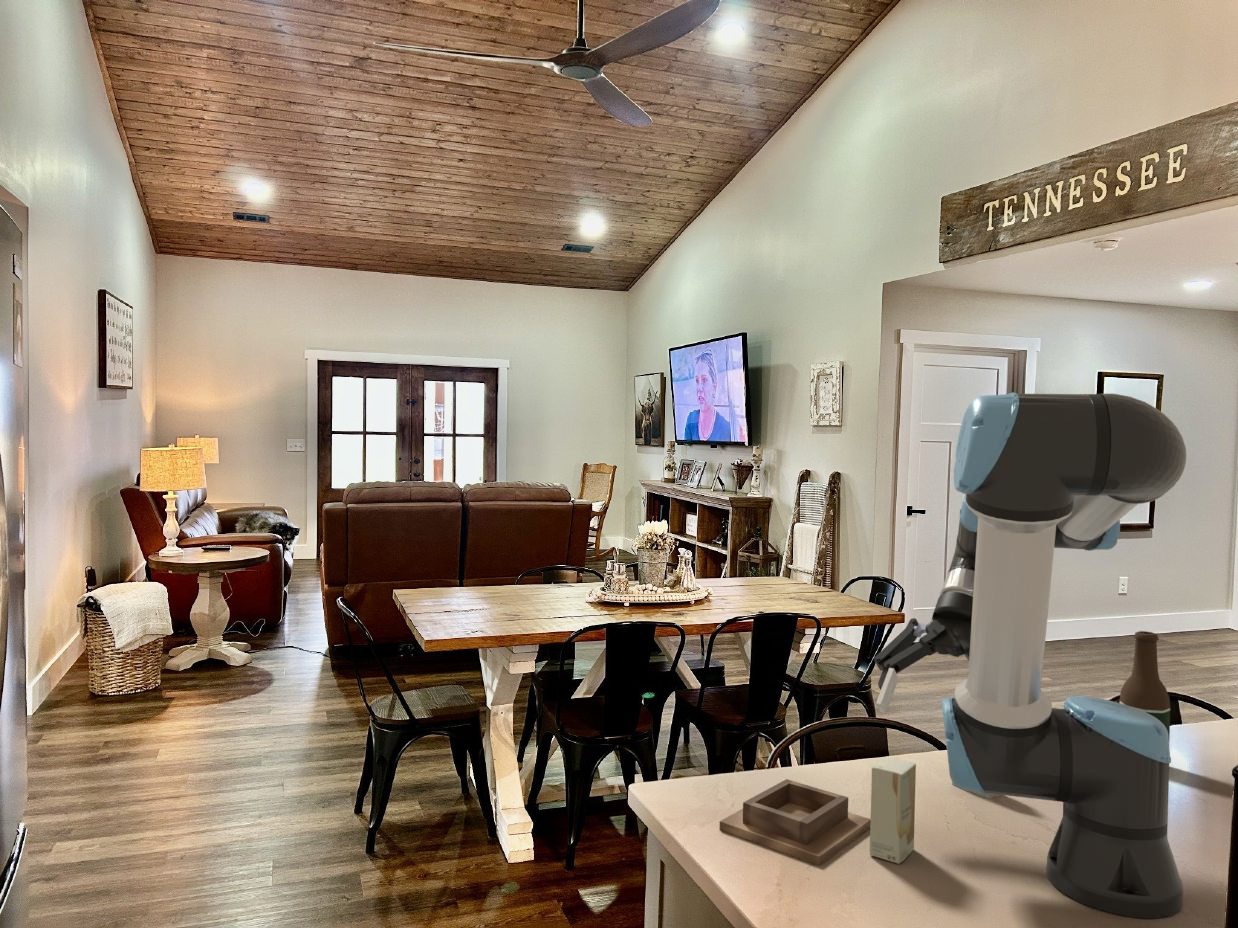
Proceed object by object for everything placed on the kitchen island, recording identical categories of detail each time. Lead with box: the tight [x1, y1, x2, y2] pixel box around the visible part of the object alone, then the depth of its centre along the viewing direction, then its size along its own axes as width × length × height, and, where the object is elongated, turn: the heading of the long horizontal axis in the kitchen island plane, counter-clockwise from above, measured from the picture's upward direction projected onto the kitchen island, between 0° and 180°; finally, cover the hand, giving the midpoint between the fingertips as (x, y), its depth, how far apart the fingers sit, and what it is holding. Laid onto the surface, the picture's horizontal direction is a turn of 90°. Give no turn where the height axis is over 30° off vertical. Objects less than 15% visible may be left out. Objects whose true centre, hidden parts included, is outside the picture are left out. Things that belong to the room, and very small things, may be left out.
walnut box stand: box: [719, 778, 871, 866], centre depth 126 cm, size 16×16×4 cm
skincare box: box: [869, 756, 917, 864], centre depth 119 cm, size 6×4×12 cm
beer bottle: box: [1119, 630, 1171, 740], centre depth 154 cm, size 8×8×24 cm
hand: (924, 718), depth 126 cm, fingers open, 13 cm apart
